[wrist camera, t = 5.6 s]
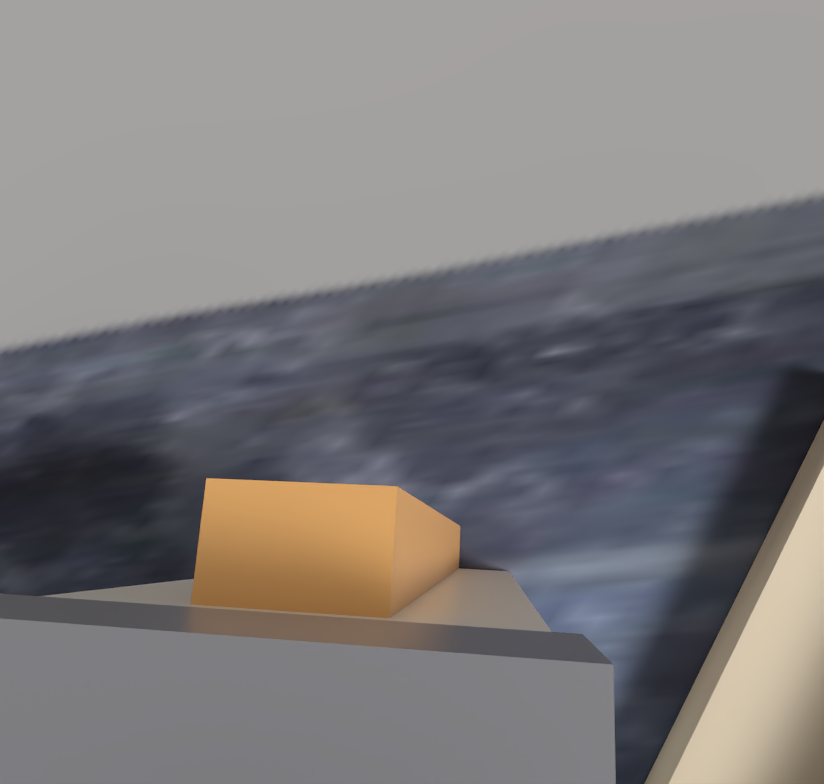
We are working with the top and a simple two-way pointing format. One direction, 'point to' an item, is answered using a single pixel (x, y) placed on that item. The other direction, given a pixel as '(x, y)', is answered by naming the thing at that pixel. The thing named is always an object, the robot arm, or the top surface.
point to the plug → (304, 660)
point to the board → (764, 662)
